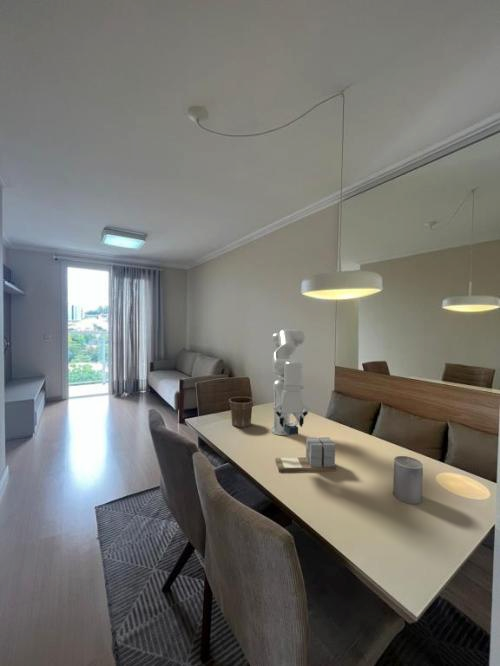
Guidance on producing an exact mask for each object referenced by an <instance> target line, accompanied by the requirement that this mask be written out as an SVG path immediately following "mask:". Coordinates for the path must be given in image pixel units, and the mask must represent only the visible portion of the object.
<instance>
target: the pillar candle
mask: <svg viewBox="0 0 500 666" xmlns="http://www.w3.org/2000/svg"><path fill="white" fill-rule="evenodd" d="M393 463H394V464H393V484H392V485H393V487H392V488H393V489H392V490H393V491H392V493H393V494H392V495H393V496H394V497H395V498H396V499H397V500H399V501H401V502H403V503H405V504H409V505H417V504H421V503H422V500H423V476H424V474H423V472H424V471H423V470H424V465H423V462H421V461H420V460H418V459H417V458H415V457H411V456H407V455H398V456H395V457H394V461H393Z"/></svg>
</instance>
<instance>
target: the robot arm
mask: <svg viewBox="0 0 500 666" xmlns="http://www.w3.org/2000/svg"><path fill="white" fill-rule="evenodd" d="M305 337H306V336H305V333H304V331H303V330H302V329H295V328H294V329H291V328H290V329H289V328H287V329H281V330H280V331H279V332H276V333H273V334H272V336H271V343H272V347H273V351H274V352H273V354H272V358H271V360H272V361H271V363H272V371H273V373H274V374H275V375H276V376H277V377H279V378H283V379H277V380H275V381H274V382H273V384H272V388H273V401H274V403H273V405H274V406H273V427H271V429H270V431H271V433H272V434H275V435H279V436H288V435H289V434H287V433H286V432H285V431H284V424H286V423H285V422H284V419H283V416H284V414H285V413H287V414H286V419H287V422H288V424H291V423H290V420H291V419H290V418H291V415H290V414H293V413H299V414H300V417H301V418H300V421H299V423H298V424H299V425H298V426H300V427H301V428H302V427H303V425H304V420H305V417H306V416H307V415H308V414H309V412H310V410H311V408H310V407H308V405H306V404H304V397H303V389H305V388H304V385H303V363H302V362H301V360H300V359H296V358H290V357H291V356H292V355H293V354H294V353H295V352H296V349H297V348H300V347H301V346H302V345H303V344H304V343H305ZM304 409H305V410H304ZM289 436H290V435H289Z"/></svg>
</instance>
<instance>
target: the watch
mask: <svg viewBox="0 0 500 666" xmlns="http://www.w3.org/2000/svg"><path fill="white" fill-rule="evenodd" d="M286 414H287V413H285V414H284V416H283V419H284V422H285V423H286V424H284V431H285V432H286V433H287V434H289V436H293V435H299V426H297V425H298V424H299V421H300V418H301V417H300V414H299V413H292V415H293V416H294V417H295V421H294V422H293V423H290V424H288V422H287V419H286Z"/></svg>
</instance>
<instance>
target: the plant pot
mask: <svg viewBox="0 0 500 666" xmlns="http://www.w3.org/2000/svg"><path fill="white" fill-rule="evenodd" d="M228 401H229V407H230V415H231V416H230V417H231V425H232V426H233V427H237V428H247V427H249V426H251V424H252V423H251V422H252V412H253V407H254V402H255V399H254V398H252V397H248V396H235V397H231V398H229V399H228Z"/></svg>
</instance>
